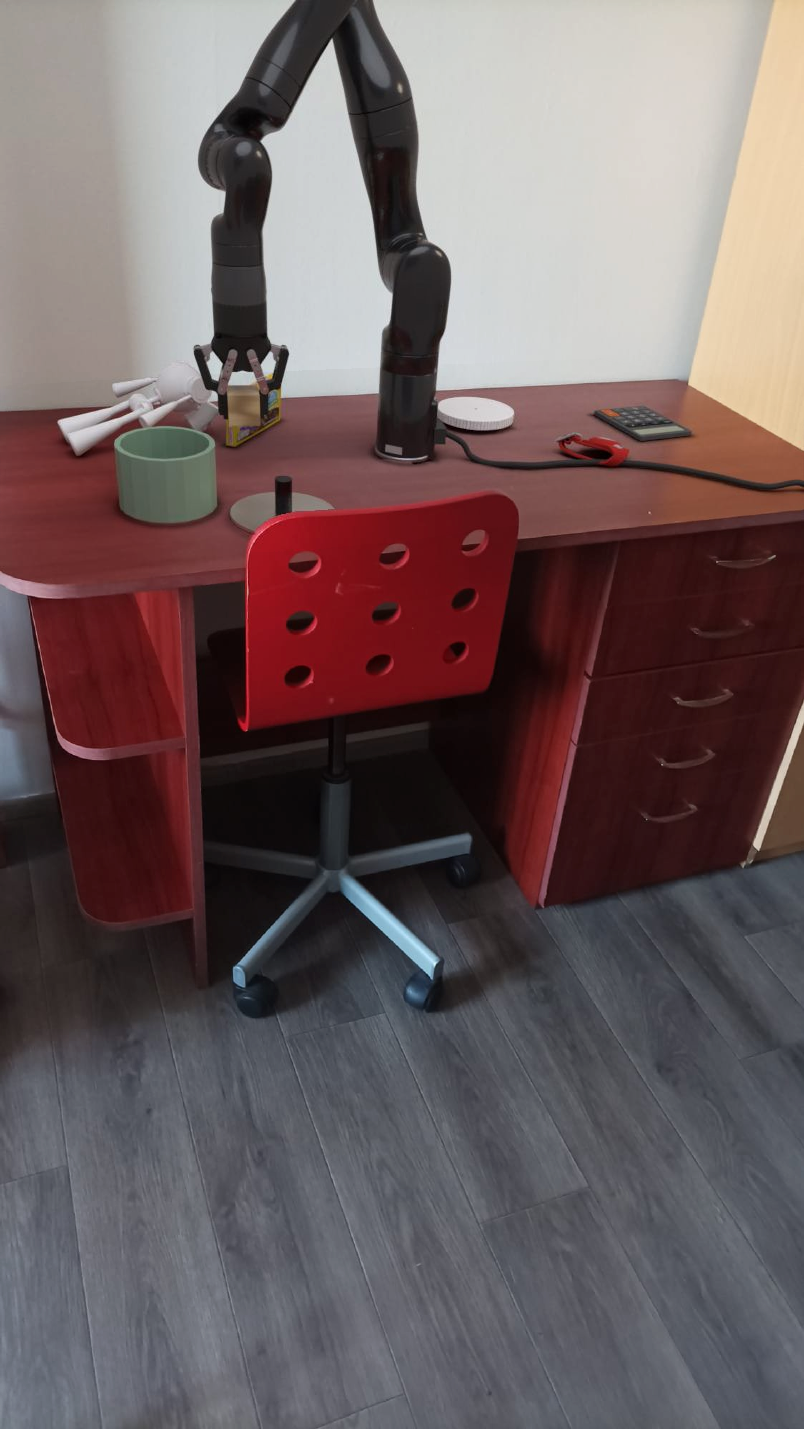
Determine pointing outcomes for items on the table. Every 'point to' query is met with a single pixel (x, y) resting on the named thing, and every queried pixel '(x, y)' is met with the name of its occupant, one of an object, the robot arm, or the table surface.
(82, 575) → the table surface
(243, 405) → the block
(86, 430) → the toy robot
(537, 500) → the table surface
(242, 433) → the candy box
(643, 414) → the calculator
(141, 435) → the tin
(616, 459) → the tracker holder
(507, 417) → the plastic lid
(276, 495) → the lid
